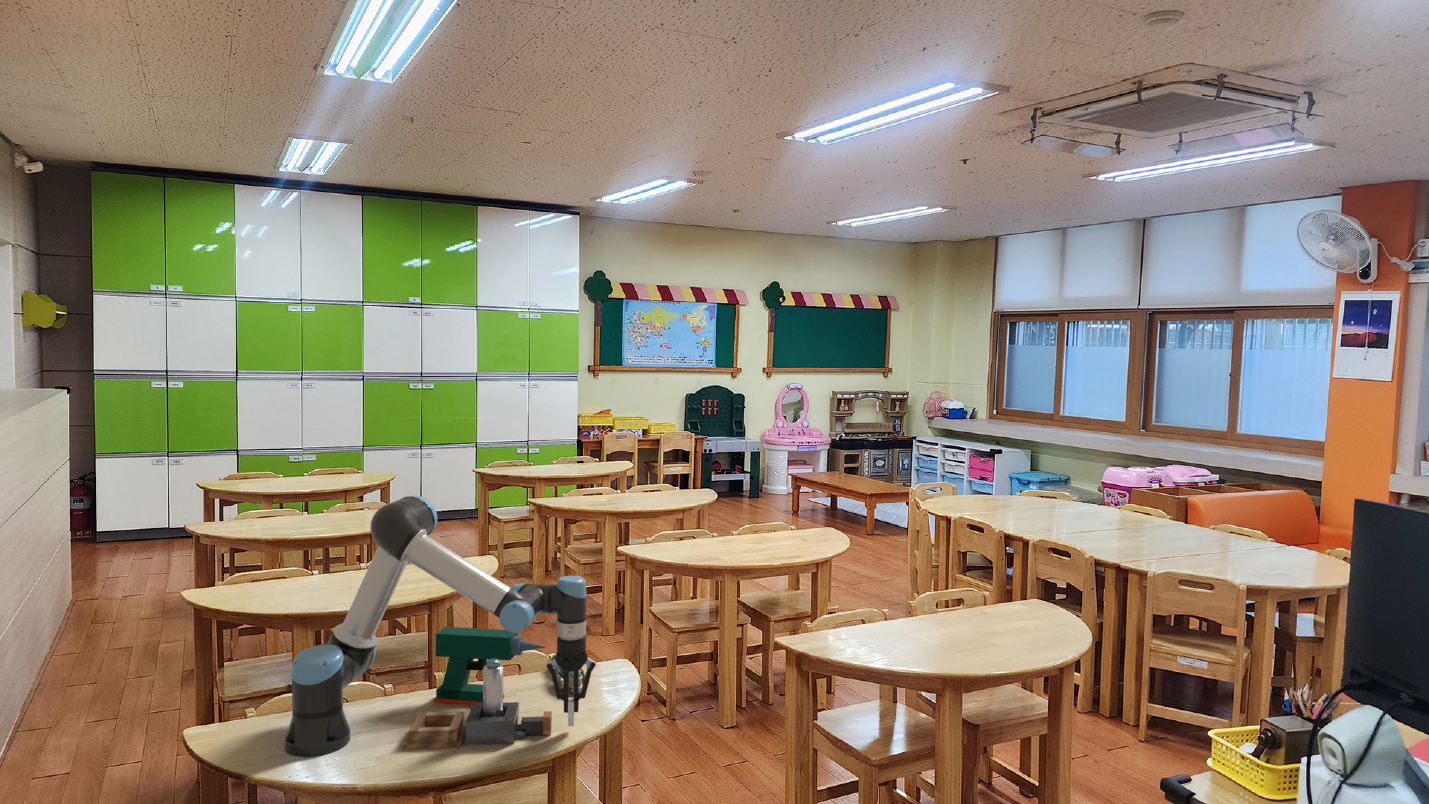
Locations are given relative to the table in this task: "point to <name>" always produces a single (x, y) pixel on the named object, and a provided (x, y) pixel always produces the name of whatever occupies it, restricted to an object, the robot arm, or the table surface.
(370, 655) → the robot arm
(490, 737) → the socket block
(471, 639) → the power tool
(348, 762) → the table surface
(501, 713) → the peg
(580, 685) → the hoverbike
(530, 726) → the block
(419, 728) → the frame
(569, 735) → the table surface
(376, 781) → the table surface
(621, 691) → the table surface
